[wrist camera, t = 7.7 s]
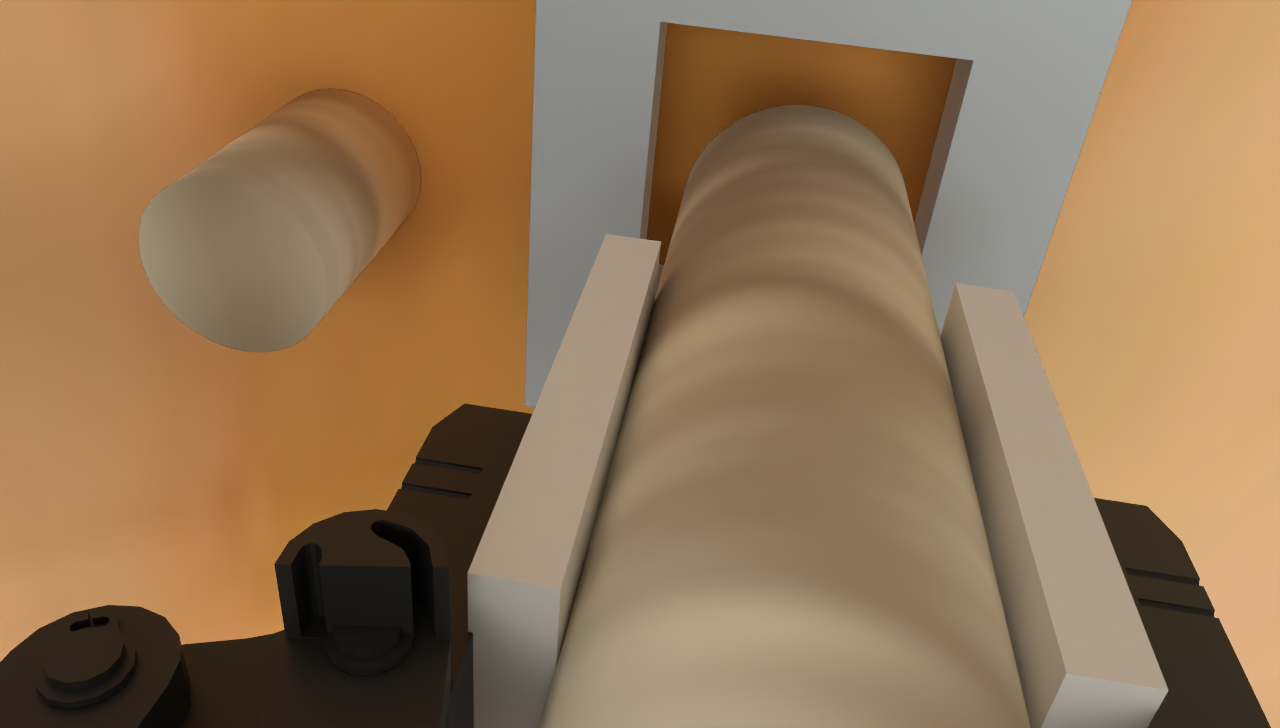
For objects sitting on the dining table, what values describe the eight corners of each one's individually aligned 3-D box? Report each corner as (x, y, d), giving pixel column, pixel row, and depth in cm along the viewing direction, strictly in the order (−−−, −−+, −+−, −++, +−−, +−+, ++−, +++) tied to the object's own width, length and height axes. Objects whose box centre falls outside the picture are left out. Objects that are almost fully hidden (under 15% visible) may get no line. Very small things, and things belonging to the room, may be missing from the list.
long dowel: (671, 295, 19) (455, 1184, 7) (696, 90, 17) (446, 877, 5) (880, 325, 19) (1009, 1302, 7) (931, 121, 17) (1246, 1033, 5)
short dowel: (279, 226, 27) (156, 337, 22) (261, 78, 24) (121, 164, 19) (423, 247, 26) (333, 364, 21) (418, 99, 24) (317, 191, 19)
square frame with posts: (568, 301, 27) (524, 405, 22) (596, -213, 20) (541, -202, 16) (942, 355, 26) (970, 473, 22) (1096, -159, 19) (1177, -133, 15)
